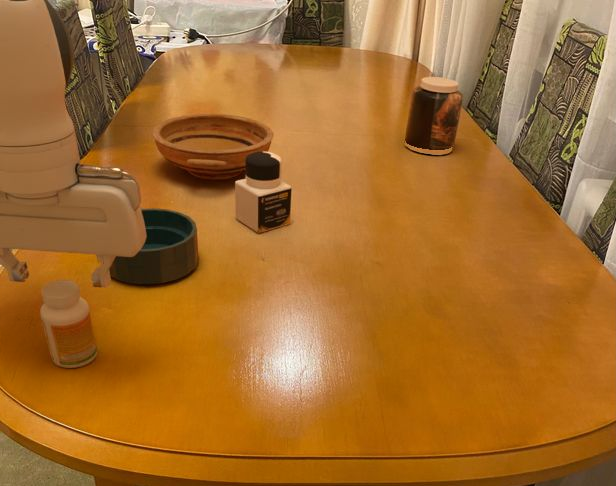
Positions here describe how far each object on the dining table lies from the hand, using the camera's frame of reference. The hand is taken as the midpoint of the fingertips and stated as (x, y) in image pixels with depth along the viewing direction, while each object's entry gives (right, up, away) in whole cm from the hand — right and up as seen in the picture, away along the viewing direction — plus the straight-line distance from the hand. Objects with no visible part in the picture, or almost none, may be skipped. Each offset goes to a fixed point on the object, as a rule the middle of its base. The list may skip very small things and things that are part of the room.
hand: (61, 282), depth 68 cm
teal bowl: (+4, +6, +25) cm, 26 cm away
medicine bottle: (+20, +15, +40) cm, 47 cm away
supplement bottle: (-1, -9, +6) cm, 11 cm away
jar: (+57, +41, +77) cm, 104 cm away
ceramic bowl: (+8, +30, +58) cm, 66 cm away
